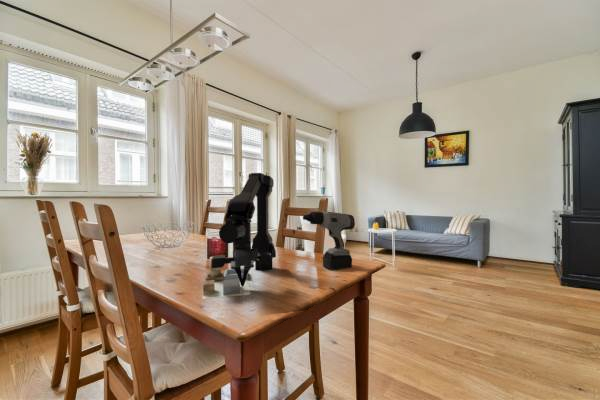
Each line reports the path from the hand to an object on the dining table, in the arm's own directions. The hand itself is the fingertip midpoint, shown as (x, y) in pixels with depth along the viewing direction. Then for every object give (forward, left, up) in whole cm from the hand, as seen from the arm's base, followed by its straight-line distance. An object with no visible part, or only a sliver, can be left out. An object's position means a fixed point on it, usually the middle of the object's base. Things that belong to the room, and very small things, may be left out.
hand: (242, 286), depth 85 cm
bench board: (+5, -8, -2) cm, 9 cm away
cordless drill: (-38, -21, -3) cm, 43 cm away
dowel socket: (+9, -14, -1) cm, 17 cm away
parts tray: (+2, -14, -1) cm, 14 cm away
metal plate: (+4, 0, -1) cm, 4 cm away
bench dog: (+10, 0, -1) cm, 10 cm away
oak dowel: (+9, -14, -1) cm, 17 cm away
